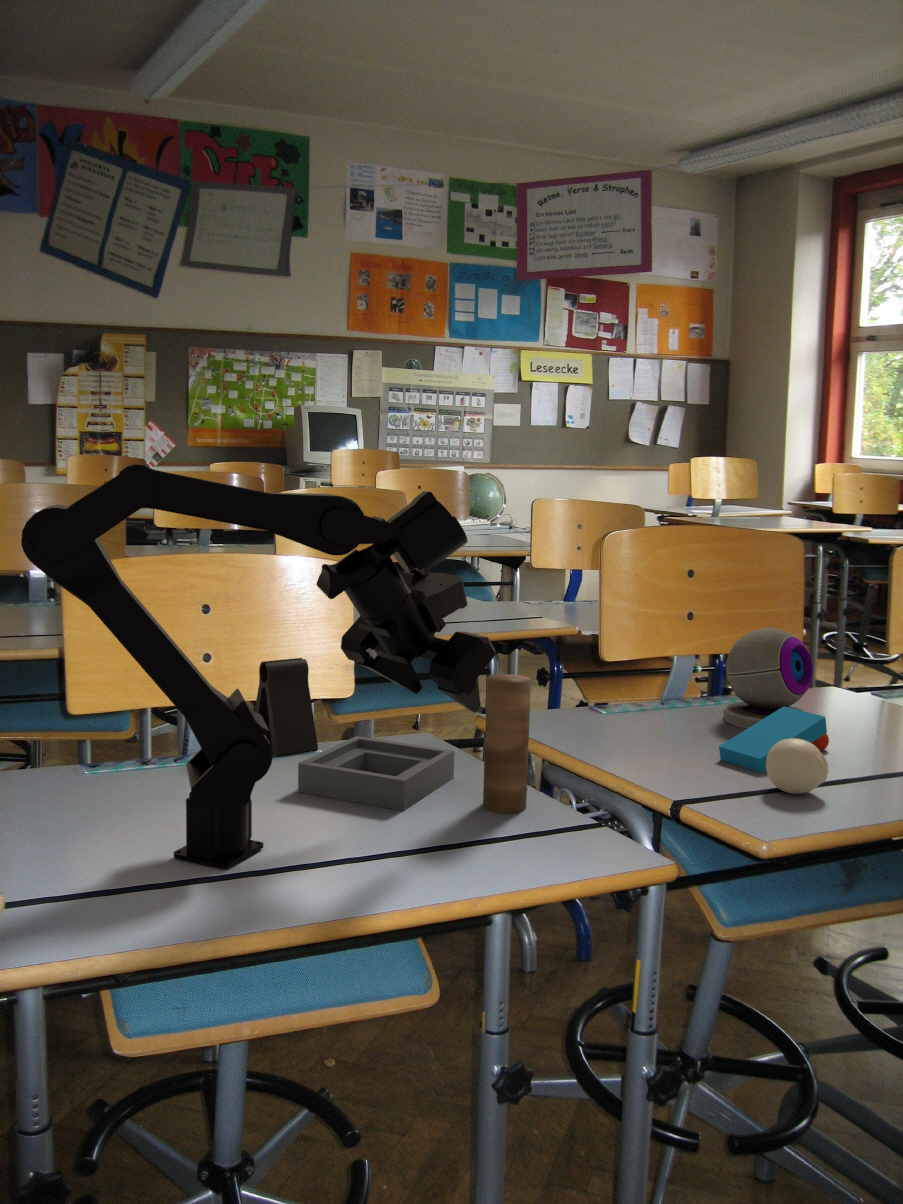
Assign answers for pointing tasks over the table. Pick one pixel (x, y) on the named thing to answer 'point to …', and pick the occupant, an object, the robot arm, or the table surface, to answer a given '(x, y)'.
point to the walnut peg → (506, 743)
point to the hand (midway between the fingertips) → (447, 699)
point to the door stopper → (286, 706)
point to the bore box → (376, 772)
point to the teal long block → (773, 737)
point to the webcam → (766, 675)
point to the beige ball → (796, 766)
